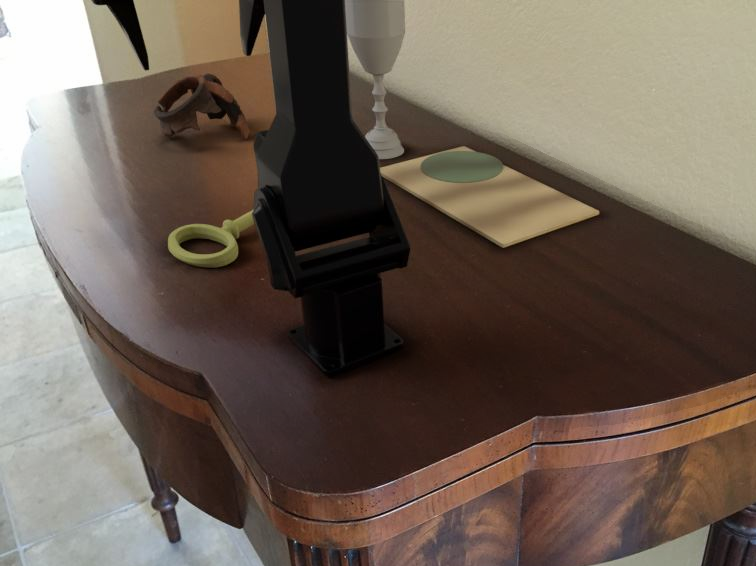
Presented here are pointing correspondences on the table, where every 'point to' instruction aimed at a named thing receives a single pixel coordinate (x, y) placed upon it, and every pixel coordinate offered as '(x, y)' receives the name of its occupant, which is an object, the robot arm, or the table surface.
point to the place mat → (487, 195)
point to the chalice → (377, 58)
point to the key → (222, 235)
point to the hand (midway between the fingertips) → (197, 61)
